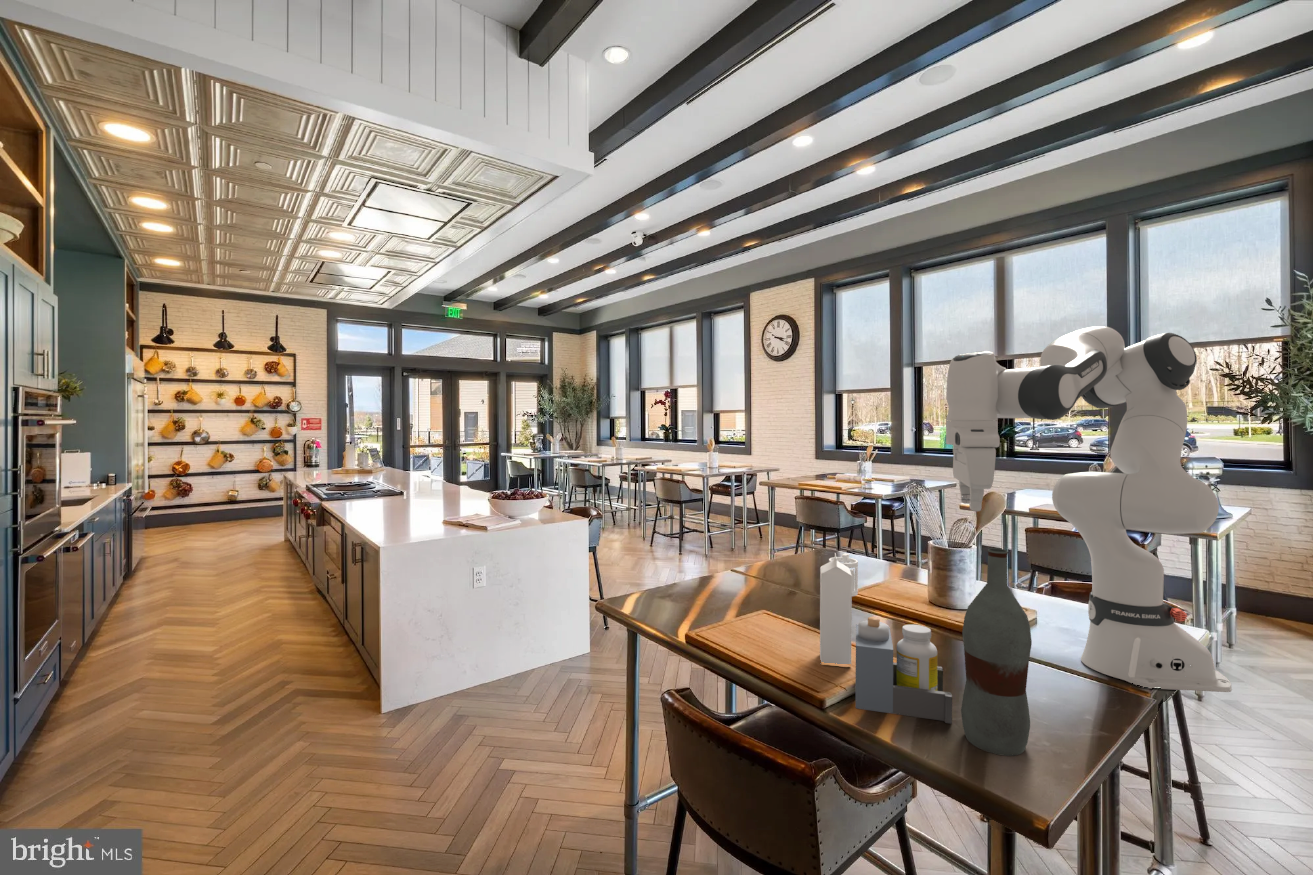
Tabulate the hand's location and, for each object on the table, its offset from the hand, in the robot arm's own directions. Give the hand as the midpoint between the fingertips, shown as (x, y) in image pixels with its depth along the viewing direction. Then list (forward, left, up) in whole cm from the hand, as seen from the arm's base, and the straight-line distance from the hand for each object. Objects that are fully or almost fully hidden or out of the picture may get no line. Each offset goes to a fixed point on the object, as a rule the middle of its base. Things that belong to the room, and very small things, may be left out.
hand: (970, 506), depth 115 cm
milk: (+25, +2, -33) cm, 42 cm away
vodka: (+1, +26, -33) cm, 42 cm away
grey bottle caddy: (+14, +14, -33) cm, 38 cm away
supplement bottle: (+11, +15, -33) cm, 38 cm away
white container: (+24, -29, -33) cm, 50 cm away
